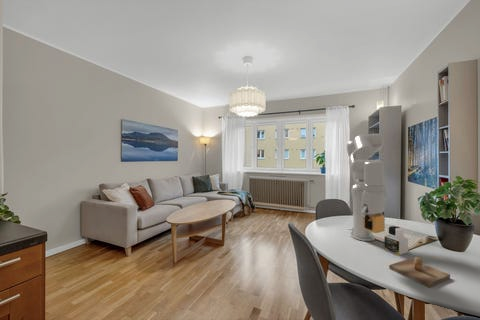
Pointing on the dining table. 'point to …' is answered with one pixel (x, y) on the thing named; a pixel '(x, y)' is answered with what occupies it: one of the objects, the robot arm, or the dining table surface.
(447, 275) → the walnut board
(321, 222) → the dining table surface
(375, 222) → the plain orange cube
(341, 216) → the dining table surface
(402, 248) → the medicine bottle
